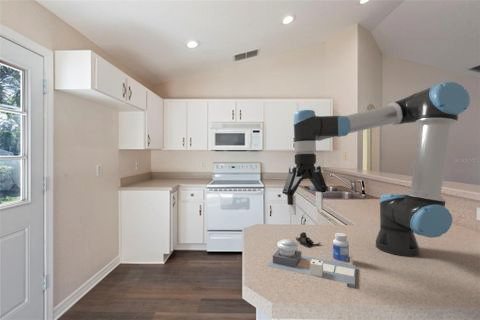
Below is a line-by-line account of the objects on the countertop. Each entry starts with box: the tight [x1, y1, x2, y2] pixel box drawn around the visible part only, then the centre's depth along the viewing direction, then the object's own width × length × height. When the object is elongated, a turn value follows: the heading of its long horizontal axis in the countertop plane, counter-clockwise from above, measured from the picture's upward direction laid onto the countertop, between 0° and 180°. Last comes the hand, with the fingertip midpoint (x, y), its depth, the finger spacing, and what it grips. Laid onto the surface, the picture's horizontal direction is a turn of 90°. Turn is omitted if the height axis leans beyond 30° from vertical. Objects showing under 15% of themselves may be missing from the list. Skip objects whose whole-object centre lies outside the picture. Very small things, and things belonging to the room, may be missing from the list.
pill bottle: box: [332, 232, 350, 262], centre depth 87 cm, size 6×5×10 cm
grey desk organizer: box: [267, 249, 356, 289], centre depth 80 cm, size 27×14×5 cm, turn 63°
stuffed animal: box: [295, 231, 322, 249], centre depth 103 cm, size 12×10×12 cm
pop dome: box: [276, 238, 299, 258], centre depth 85 cm, size 7×7×5 cm
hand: (306, 211), depth 85 cm, fingers open, 13 cm apart
